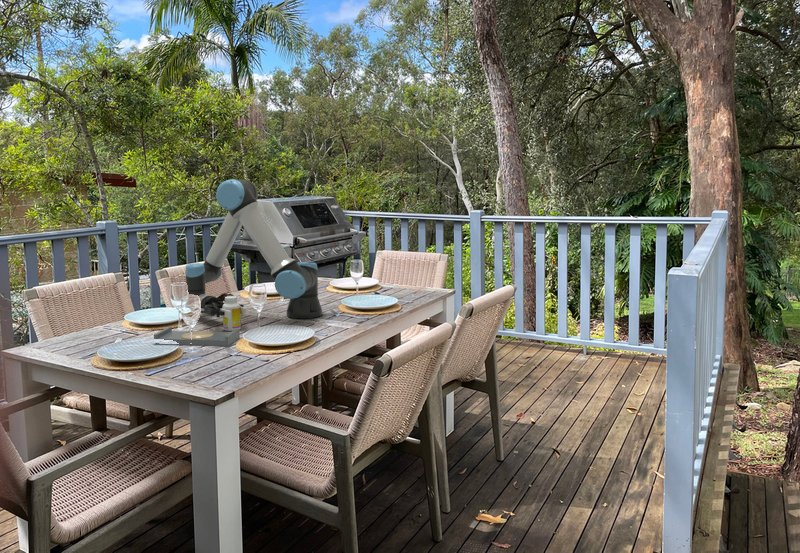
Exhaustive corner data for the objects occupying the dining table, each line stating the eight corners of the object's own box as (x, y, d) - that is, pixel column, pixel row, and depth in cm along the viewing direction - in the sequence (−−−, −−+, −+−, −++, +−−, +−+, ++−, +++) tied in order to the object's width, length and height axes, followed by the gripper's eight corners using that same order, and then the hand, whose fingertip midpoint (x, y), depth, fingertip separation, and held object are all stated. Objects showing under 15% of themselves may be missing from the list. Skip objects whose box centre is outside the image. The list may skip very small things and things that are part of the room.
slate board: (239, 337, 238) (239, 328, 237) (228, 346, 226) (228, 336, 225) (168, 335, 240) (168, 326, 239) (154, 344, 228) (153, 334, 227)
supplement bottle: (243, 327, 253) (242, 295, 251) (238, 331, 247) (237, 298, 245) (226, 327, 253) (225, 295, 251) (221, 331, 247) (219, 298, 245)
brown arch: (236, 312, 285) (225, 297, 282) (218, 320, 287) (208, 305, 284) (243, 300, 296) (233, 285, 293) (226, 308, 298) (216, 293, 295)
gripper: (229, 310, 269) (260, 318, 253) (186, 317, 255) (215, 327, 239) (229, 292, 268) (260, 300, 252) (185, 298, 254) (214, 307, 238)
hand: (238, 313), depth 245 cm, fingers closed on supplement bottle, 7 cm apart
